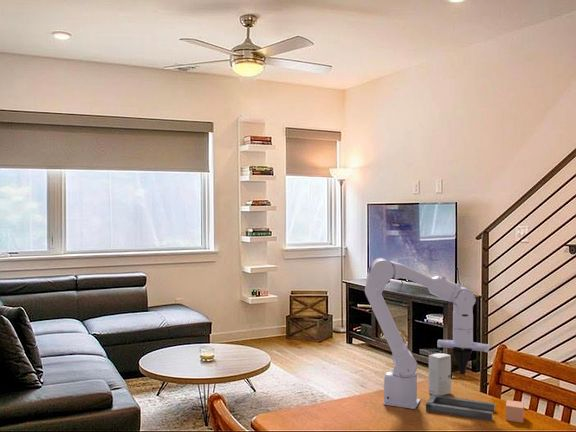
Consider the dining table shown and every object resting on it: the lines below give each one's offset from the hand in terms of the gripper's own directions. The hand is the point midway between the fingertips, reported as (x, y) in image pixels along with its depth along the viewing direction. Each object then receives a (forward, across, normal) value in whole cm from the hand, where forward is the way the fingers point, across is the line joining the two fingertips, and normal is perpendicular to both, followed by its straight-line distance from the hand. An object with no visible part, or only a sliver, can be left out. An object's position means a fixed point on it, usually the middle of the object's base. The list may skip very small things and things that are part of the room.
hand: (462, 373), depth 162 cm
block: (+9, -15, +5) cm, 18 cm away
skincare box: (+10, +8, -8) cm, 15 cm away
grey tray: (+9, 0, +5) cm, 11 cm away
